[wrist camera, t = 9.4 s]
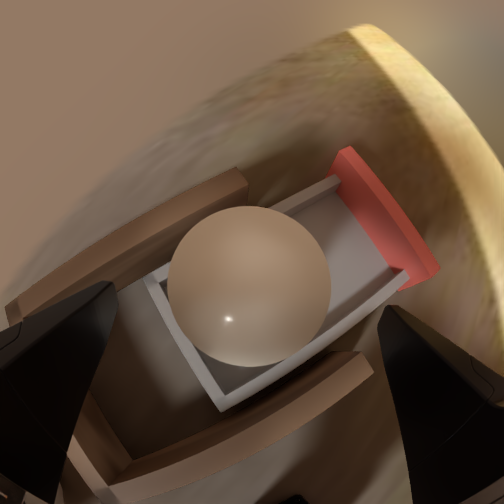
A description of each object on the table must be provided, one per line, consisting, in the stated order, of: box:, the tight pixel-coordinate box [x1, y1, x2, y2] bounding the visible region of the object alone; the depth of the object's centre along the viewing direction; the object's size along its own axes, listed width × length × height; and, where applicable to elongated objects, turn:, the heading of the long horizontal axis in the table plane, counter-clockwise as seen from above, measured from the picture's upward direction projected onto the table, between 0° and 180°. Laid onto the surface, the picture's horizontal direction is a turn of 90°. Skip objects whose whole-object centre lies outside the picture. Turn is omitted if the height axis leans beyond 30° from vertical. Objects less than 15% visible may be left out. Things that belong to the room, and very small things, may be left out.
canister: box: [167, 206, 331, 367], centre depth 14 cm, size 5×5×10 cm
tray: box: [143, 146, 440, 412], centre depth 18 cm, size 11×17×4 cm, turn 122°
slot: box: [5, 167, 374, 504], centre depth 16 cm, size 15×18×5 cm
